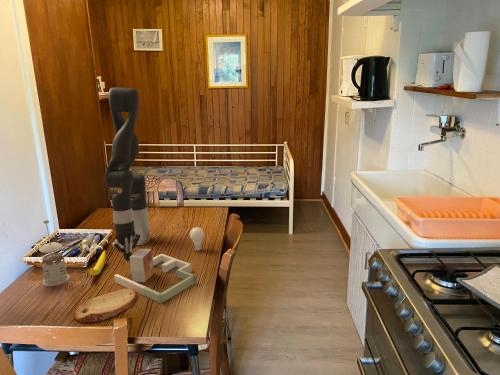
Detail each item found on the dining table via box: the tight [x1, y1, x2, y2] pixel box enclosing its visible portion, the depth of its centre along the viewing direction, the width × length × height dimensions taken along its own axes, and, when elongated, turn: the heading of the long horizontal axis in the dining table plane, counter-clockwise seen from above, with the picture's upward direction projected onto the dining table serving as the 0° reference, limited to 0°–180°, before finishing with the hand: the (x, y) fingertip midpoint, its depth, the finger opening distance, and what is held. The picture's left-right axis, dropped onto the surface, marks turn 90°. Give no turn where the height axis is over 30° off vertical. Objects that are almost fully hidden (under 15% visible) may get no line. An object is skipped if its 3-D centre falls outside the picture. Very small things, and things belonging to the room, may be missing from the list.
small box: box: [129, 248, 155, 283], centre depth 149 cm, size 8×6×10 cm
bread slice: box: [73, 288, 138, 324], centre depth 131 cm, size 18×18×4 cm
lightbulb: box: [189, 226, 205, 252], centre depth 172 cm, size 6×6×11 cm
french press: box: [38, 219, 71, 287], centre depth 148 cm, size 10×12×25 cm
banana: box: [87, 250, 107, 276], centre depth 155 cm, size 3×19×6 cm, turn 3°
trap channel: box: [113, 253, 197, 304], centre depth 149 cm, size 26×23×3 cm
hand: (128, 260), depth 154 cm, fingers closed
